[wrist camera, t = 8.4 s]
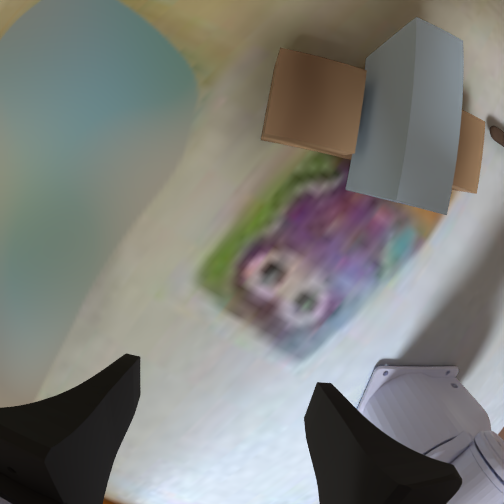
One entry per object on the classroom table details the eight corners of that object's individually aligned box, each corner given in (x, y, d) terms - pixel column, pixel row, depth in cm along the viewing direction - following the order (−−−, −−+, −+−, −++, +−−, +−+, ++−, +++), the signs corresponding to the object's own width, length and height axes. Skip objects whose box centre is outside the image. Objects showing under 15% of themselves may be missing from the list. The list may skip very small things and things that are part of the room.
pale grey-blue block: (403, 71, 17) (463, 40, 10) (385, 199, 19) (446, 215, 12) (366, 58, 17) (416, 16, 10) (345, 189, 19) (396, 200, 12)
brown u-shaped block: (456, 125, 19) (485, 121, 15) (447, 189, 20) (476, 193, 17) (274, 67, 18) (280, 47, 14) (260, 140, 19) (264, 133, 16)
